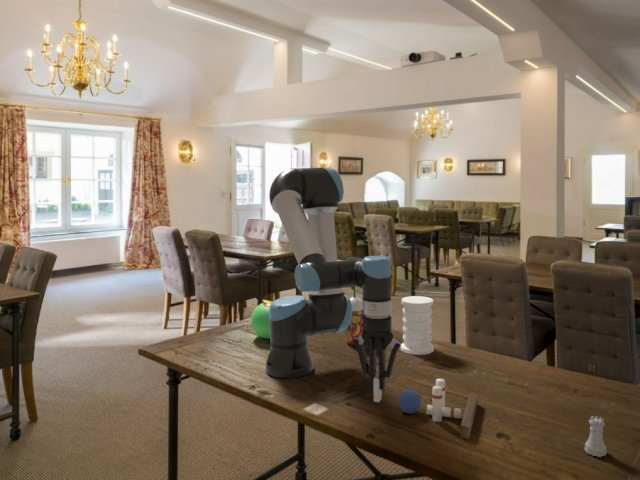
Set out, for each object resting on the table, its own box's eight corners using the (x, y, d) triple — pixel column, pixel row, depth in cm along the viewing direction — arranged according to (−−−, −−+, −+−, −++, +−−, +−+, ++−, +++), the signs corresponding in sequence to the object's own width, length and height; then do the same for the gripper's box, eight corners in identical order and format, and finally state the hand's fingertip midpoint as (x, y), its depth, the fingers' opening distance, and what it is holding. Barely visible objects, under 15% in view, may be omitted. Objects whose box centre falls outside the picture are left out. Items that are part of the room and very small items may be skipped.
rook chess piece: (586, 445, 123) (587, 412, 122) (607, 451, 121) (609, 417, 119) (582, 454, 119) (584, 420, 118) (605, 460, 117) (607, 425, 116)
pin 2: (431, 421, 136) (431, 389, 135) (433, 416, 139) (433, 385, 138) (441, 422, 135) (441, 390, 134) (442, 418, 138) (443, 386, 137)
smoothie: (342, 339, 202) (341, 287, 200) (364, 338, 203) (363, 287, 200) (345, 347, 194) (344, 292, 191) (368, 346, 195) (367, 292, 192)
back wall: (460, 437, 128) (460, 425, 127) (469, 403, 146) (469, 392, 146) (469, 439, 127) (469, 427, 127) (477, 404, 145) (477, 393, 145)
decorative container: (434, 344, 194) (434, 296, 192) (433, 355, 183) (433, 304, 181) (401, 343, 197) (401, 295, 195) (399, 353, 186) (399, 303, 183)
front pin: (426, 406, 139) (460, 411, 136) (428, 402, 141) (461, 407, 138) (426, 416, 139) (460, 420, 136) (428, 411, 142) (461, 416, 139)
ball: (422, 405, 137) (410, 422, 139) (427, 395, 142) (416, 411, 144) (402, 390, 138) (391, 407, 140) (408, 381, 144) (397, 397, 146)
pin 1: (434, 412, 141) (434, 381, 140) (436, 408, 143) (436, 378, 142) (444, 414, 140) (444, 382, 139) (445, 410, 142) (446, 379, 141)
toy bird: (251, 331, 215) (250, 295, 213) (294, 329, 217) (293, 293, 215) (251, 346, 198) (249, 307, 196) (296, 343, 199) (295, 304, 197)
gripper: (349, 316, 141) (350, 402, 144) (398, 320, 136) (398, 409, 139) (357, 309, 148) (358, 391, 151) (404, 313, 143) (404, 397, 146)
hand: (377, 399), depth 145 cm, fingers closed
